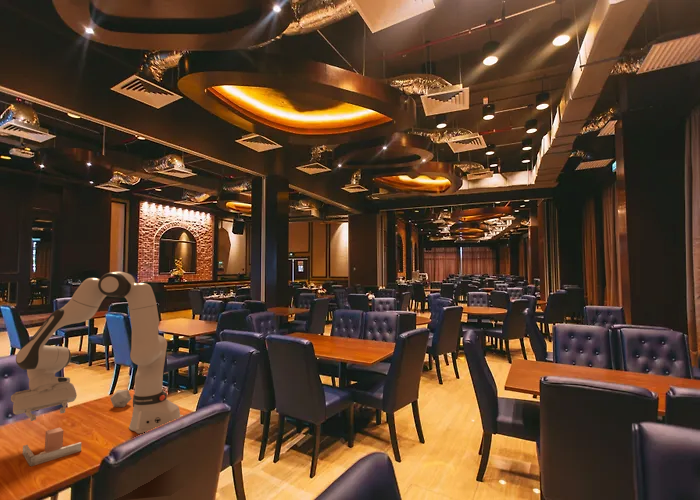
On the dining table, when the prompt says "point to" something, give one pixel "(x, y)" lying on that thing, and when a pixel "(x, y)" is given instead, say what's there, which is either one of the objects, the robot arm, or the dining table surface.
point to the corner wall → (49, 454)
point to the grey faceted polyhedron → (120, 398)
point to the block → (53, 439)
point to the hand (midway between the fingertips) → (48, 416)
